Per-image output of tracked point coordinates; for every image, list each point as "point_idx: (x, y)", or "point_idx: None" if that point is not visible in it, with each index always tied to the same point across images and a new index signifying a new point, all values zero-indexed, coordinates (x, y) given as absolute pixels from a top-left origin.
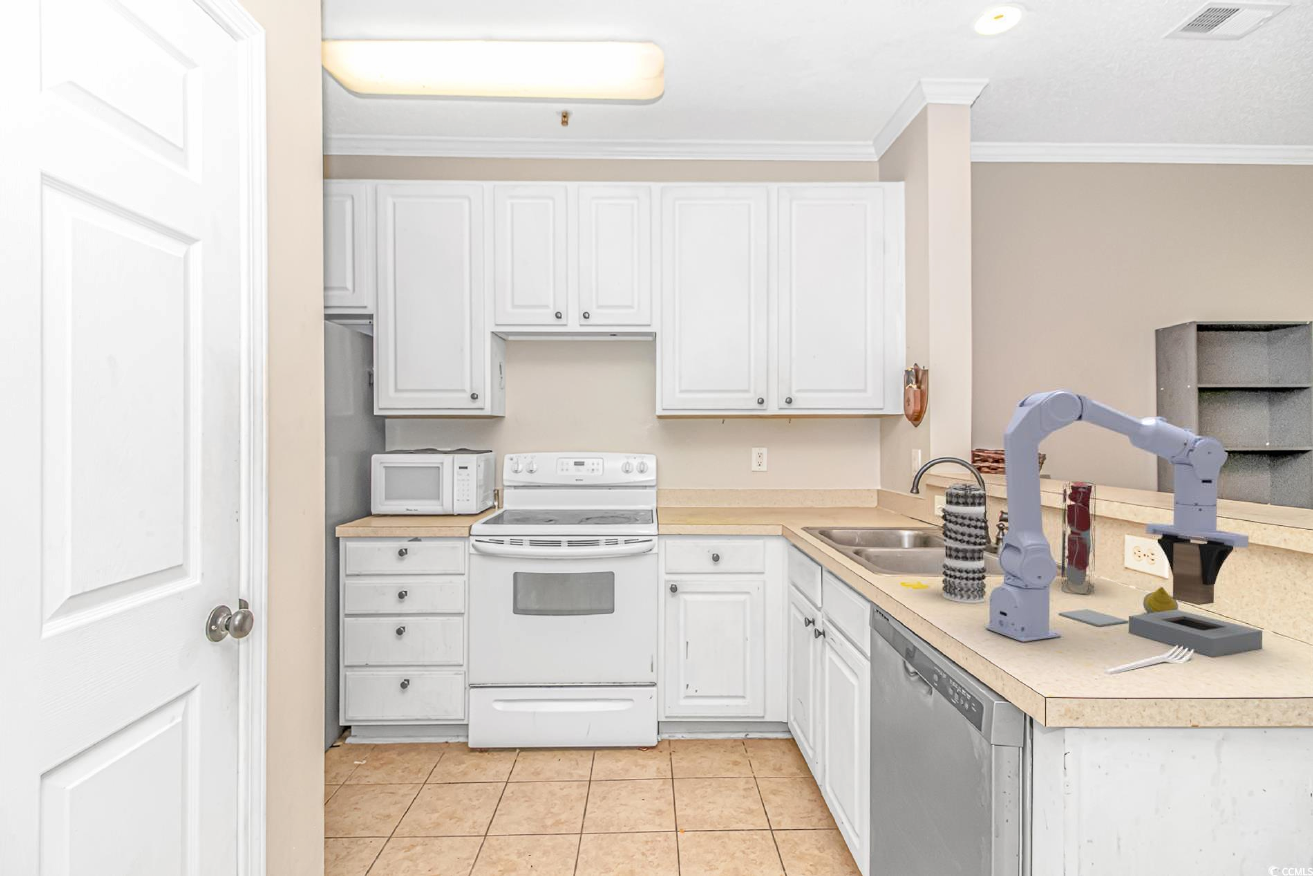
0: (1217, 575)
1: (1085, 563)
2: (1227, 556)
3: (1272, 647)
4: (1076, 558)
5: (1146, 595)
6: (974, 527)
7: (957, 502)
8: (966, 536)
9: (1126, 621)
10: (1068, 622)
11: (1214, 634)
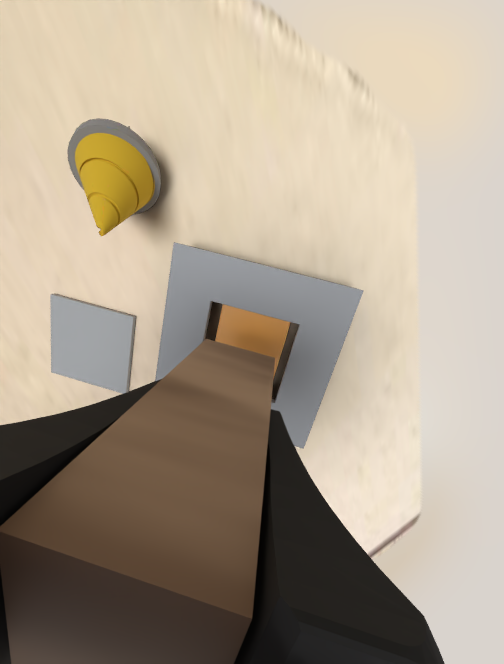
0: (288, 433)
1: None
2: (352, 538)
3: (365, 256)
4: None
5: (70, 166)
6: None
7: None
8: None
9: (133, 321)
10: (91, 403)
11: (297, 414)
